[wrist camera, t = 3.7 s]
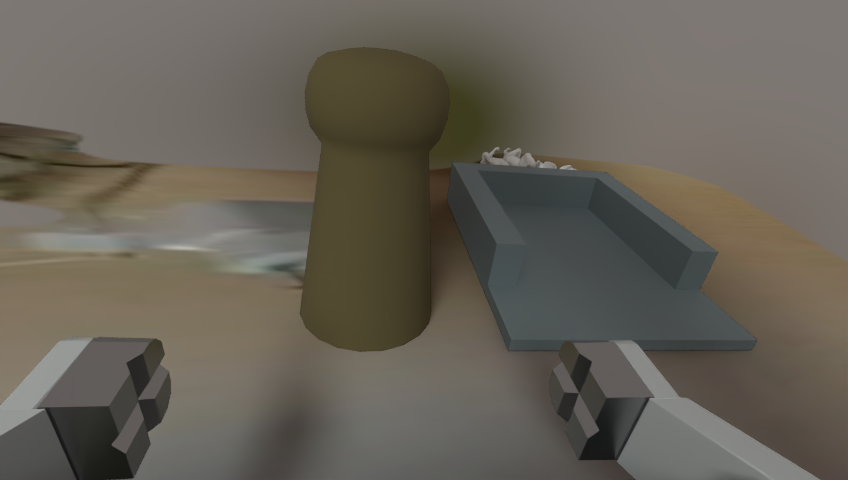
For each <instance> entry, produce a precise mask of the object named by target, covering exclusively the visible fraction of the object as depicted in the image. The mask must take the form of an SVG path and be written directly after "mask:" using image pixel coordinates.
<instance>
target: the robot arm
mask: <svg viewBox="0 0 848 480" xmlns="http://www.w3.org/2000/svg"><path fill="white" fill-rule="evenodd" d="M164 355H165V353H164V349H163V346H162V342H161V341H160V340H157V339H150V338H114V337H98V338H91V337H67V338H65V339H62V340H60V341H59V342H58V343H57V344H56V345H55V346H54V347H53V348H52V349H51V350H50V351H49V352H48V354H47V355H46V356H45V357H44V358H43V359H42V360H41V361H40V362H39V363H38V365H37V366H36V367H35V368H34V369H33V370H32V371H31V372H30V373H29V374H28V376H27V377H26V378H25V379H24V380H23V381H22V382H21V383H20V384H19V385H18V387H17V388H16V389H15V390H14V391H13V392H12V393H11V394H10V395H9V396H8V398H7V399H6V400H5V401H4V402H3V403H2V404H1V405H0V480H117V479H132V478H134V477H135V475H136V473H137V471H138V469H139V466H140V464H141V462H142V460H143V458H144V456H145V454H146V452H147V450H148V448H149V446H150V444H151V443H150V439H149V436H148V432H149V431H150V430H152V429H153V428H154V427H155V426H157V425H158V424H159V423H161V421H162V419H163V417H164V415H165V413H166V411H167V408H168V404H169V399H170V395H171V379H170V374H169V371H167V370H166V369H165V368H164V367H163V366H161V365H160V362H161V360H162V359H163V357H164ZM558 355H559V357H560V358H561V360H562V362H561V363H560V364H559V365H558V366H557V367H555V368H554V369H553V371H552V375H551V378H550V396H551V400H552V404H553V406H554V408H555V411H556V413H557V414H558V415H560V416H561V417H562V418H563V419H564V420H566V421H567V422H568V423H567V426H566V430H565V432H566V434H567V437H568V439H569V441H570V443H571V445H572V447H573V449H574V452H575V454H576V456H577V458H578V460H617V462H618V463H619V464H620V465H621V466H622V467H623V468H624V469H625V470H626V471H627V472H628V473H629V474H630V475H631V476H632V477H633V478H634V479H635V480H820V479H818V478H817V477H815V476H814V475H812V474H810V473H809V472H807V471H805V470H804V469H802V468H801V467H799V466H797V465H796V464H794V463H792V462H791V461H789V460H788V459H786V458H784V457H783V456H781V455H779V454H778V453H776V452H774V451H773V450H771V449H770V448H768V447H766V446H765V445H763V444H761V443H760V442H758V441H757V440H755V439H753V438H752V437H750V436H748V435H747V434H745V433H744V432H742V431H740V430H739V429H737V428H735V427H734V426H732V425H730V424H729V423H727V422H726V421H724V420H722V419H721V418H719V417H717V416H716V415H714V414H713V413H711V412H709V411H708V410H706V409H704V408H703V407H701V406H700V405H698V404H696V403H695V402H693V401H691V400H690V399H688V398H680V397H679V396H678V395H677V393H676V392H675V391H674V390H673V388H672V387H671V386H670V384H669V383H668V382H667V381H666V379H665V378H664V377H663V376H662V374H661V373H660V372H659V371H658V369H657V368H656V367H655V366H654V364H653V363H652V362H651V361H650V359H649V358H648V357H647V356H646V354H645V353H644V352H643V351H642V349H641V348H640V347H639V345H638V344H636V343H635V342H633V341H632V340H609V341H565V343H564V344H563V345H562V346H561V349H560V351H559V354H558Z"/></svg>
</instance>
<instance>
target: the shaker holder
mask: <svg viewBox="0 0 848 480" xmlns="http://www.w3.org/2000/svg"><path fill="white" fill-rule="evenodd" d="M447 202H448V204H449V207H450V209H451V212H452V214H453V217H454V219H455V221H456V224H457V226H458V229H459V231H460V234H461V236H462V238H463V241H464V243H465V246H466V248H467V251H468V253H469V256H470V258H471V260H472V263H473V265H474V268H475V270H476V273H477V275H478V277H479V280H480V282H481V285H482V287H483V290H484V292H485V295H486V297H487V299H488V302H489V304H490V307H491V309H492V312H493V314H494V316H495V319H496V321H497V324H498V326H499V329H500V331H501V334H502V336H503V338H504V341H505V343H506V346H507V348H508V351H528V350H560V349H561V346H562V345H563V344H564V343H565V341H609V340H632V341H633V342H635V343H636V344H638V345H639V347H640V348H641V349H642V350H752V348H753V347H754V345H755V343H756V342H757V339H756V338H755V337H753V336H752V335H751V334H750V333H749V332H748V331H746V330H745V329H744V328H743V327H742V326H741V325H739V324H738V323H737V322H736V321H735V320H734V319H733V318H731V317H730V316H729V315H728V314H727V313H726V312H724V311H723V310H722V309H721V308H720V307H719V306H718V305H716V304H715V303H714V302H713V301H712V300H711V299H709V298H708V297H707V296H706V295H705V294H704V293H702V292H701V291H700V288H701V286H702V284H703V282H704V280H705V278H706V276H707V274H708V272H709V270H710V268H711V266H712V264H713V262H714V260H715V258H716V256H717V254H718V251H716V250H715V249H713V248H712V247H711V246H709V245H708V244H706V243H705V242H704V241H702V240H701V239H699V238H698V237H697V236H695V235H694V234H692V233H691V232H690V231H688V230H687V229H685V228H684V227H683V226H681V225H680V224H678V223H677V222H675V221H674V220H673V219H671V218H670V217H668V216H667V215H666V214H664V213H663V212H661V211H660V210H659V209H657V208H656V207H654V206H653V205H652V204H650V203H649V202H647V201H646V200H645V199H643V198H642V197H640V196H639V195H638V194H636V193H635V192H633V191H632V190H630V189H629V188H628V187H626V186H625V185H623V184H622V183H621V182H619V181H618V180H616V179H615V178H614V177H612V176H611V175H609V174H608V173H607V172H597V171H582V170H568V169H553V168H538V167H523V166H509V165H494V164H479V163H464V162H452V167H451V174H450V181H449V188H448V195H447Z"/></svg>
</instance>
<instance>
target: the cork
mask: <svg viewBox="0 0 848 480" xmlns="http://www.w3.org/2000/svg"><path fill="white" fill-rule="evenodd" d="M449 106H450V99H449V88H448V85H447V82H446V80H445V77H444V75H443V73H442V72H441V71H440V70H439V69H438V68H437V67H436V66H435V65H433V64H432V63H430V62H428V61H426V60H423V59H421V58H418V57H416V56H413V55H410V54H406V53H403V52H399V51H395V50H388V49H380V48H365V47H363V48H349V49H343V50H337V51H332V52H328V53H326V54H324V55H322V56H320V57H319V58H317V60H316V62H315V64H314V65H313V67H312V69H311V70H310V72H309V75H308V80H307V84H306V88H305V108H306V113H307V117H308V120H309V124H310V127H311V128H312V130H313V131H314V133H315V134H316V136H317V137H318V139H319V140H320V141H321V143H322V147H321V154H320V162H319V170H318V177H317V185H316V193H315V200H314V208H313V216H312V223H311V231H310V239H309V246H308V254H307V262H306V269H305V277H304V285H303V292H302V300H301V309H300V315H301V318H302V320H303V322H304V325H305V327H306V328H307V329H308V330H309V331H310V332H311V333H313V334H314V335H315V336H316V337H317V338H318V339H320V340H322V341H324V342H326V343H329V344H331V345H333V346H335V347H338V348H343V349H349V350H354V351H382V350H387V349H390V348H394V347H397V346H401V345H404V344H406V343H407V342H409V341H411V340H412V339H414V338H415V337H417V336H419V335H420V334H421V332H422V331H423V330H424V329H425V327H426V326H427V325H428V323H429V319H430V314H431V262H430V194H429V151H430V150H431V149H432V148H433V146H434V145H435V144H436V143H437V142H438V141H439V139H440V137H441V135H442V132H443V130H444V127H445V125H446V122H447V119H448V113H449Z"/></svg>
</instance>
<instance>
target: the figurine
mask: <svg viewBox="0 0 848 480" xmlns="http://www.w3.org/2000/svg"><path fill="white" fill-rule="evenodd" d="M508 149H509V148H507V149H506V150H504V158H503V159H501V158H493V157H492V155H493V154H494V152H495V150H499V147H496V148H494V149H493V151H491V152H490V153H488V152H485V153H483V154H482V161H481V162H480V164H494V165H509V166H523V167H527V166H528V165H529V166H530V167H538V168H553V169H557V167H556V165H555V164H554V163H551V162H544V164H543V163H542V162H540V161H537V162H535V161H534V159H533V158H532V157H531V154H530V153H526V154H525V155H524V156H523V157H522V158H521V159H520V155H521V149H520V148H518V149H516V150H514V151H511V152H509V153H508V152H507V150H508ZM509 150H510V149H509ZM506 153H507V154H506ZM517 154H518V155H517ZM516 155H517V157H515V156H516ZM560 169H568V170H576V169H572V166H571V165H566V166H563V167H561V168H560Z"/></svg>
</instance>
